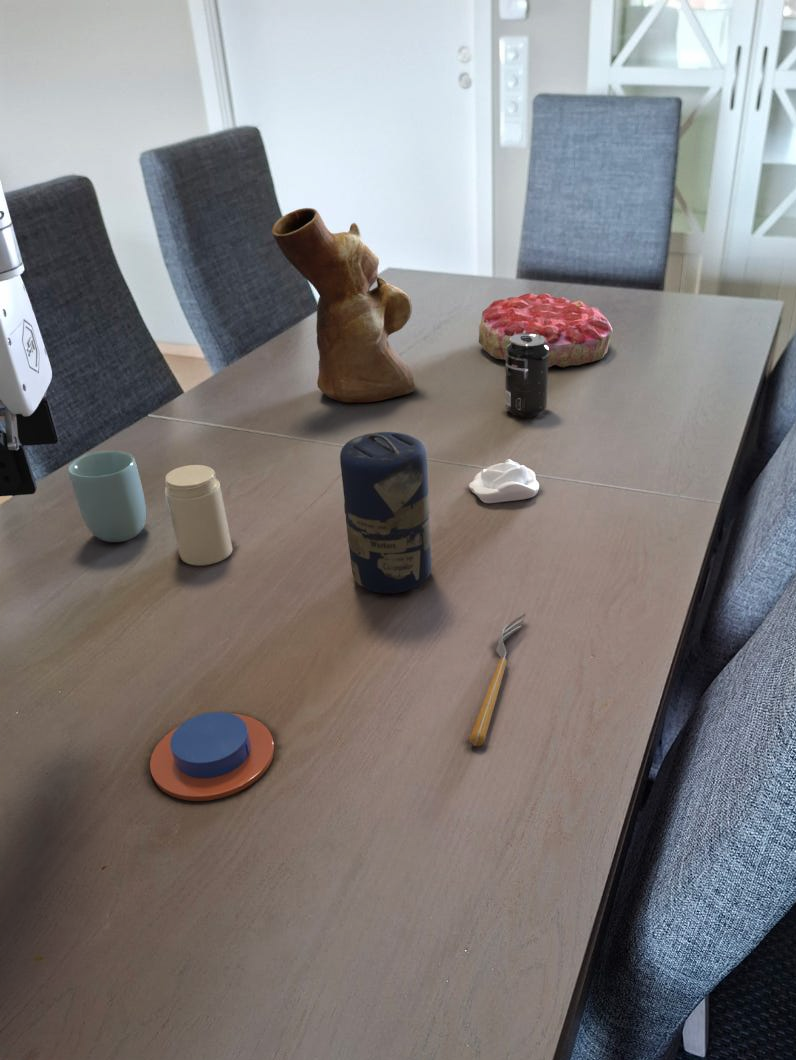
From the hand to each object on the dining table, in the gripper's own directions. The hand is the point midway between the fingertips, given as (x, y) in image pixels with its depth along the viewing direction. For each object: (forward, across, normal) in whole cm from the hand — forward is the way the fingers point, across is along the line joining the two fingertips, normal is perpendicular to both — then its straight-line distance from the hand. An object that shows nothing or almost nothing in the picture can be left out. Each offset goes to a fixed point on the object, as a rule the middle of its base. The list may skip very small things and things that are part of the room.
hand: (28, 467), depth 76 cm
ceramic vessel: (+24, +75, -32) cm, 85 cm away
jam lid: (+22, -12, -12) cm, 28 cm away
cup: (+25, +33, +2) cm, 41 cm away
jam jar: (+24, +26, -9) cm, 37 cm away
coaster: (+24, -12, -12) cm, 30 cm away
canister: (+24, +15, -32) cm, 43 cm away
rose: (+24, +34, -49) cm, 65 cm away
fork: (+24, -7, -40) cm, 47 cm away
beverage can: (+24, +62, -59) cm, 88 cm away
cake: (+24, +92, -69) cm, 117 cm away
